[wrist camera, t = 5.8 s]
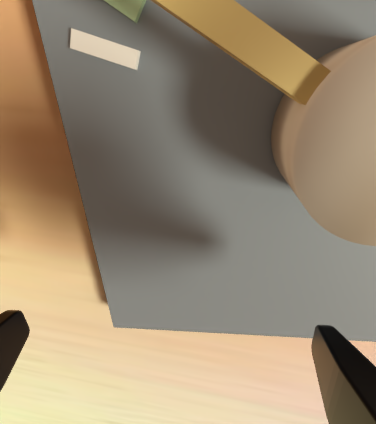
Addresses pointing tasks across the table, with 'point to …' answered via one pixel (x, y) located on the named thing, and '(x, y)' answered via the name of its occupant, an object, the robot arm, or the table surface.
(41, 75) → the table surface
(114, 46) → the grey flat square plate
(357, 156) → the beige dial pointer lever
